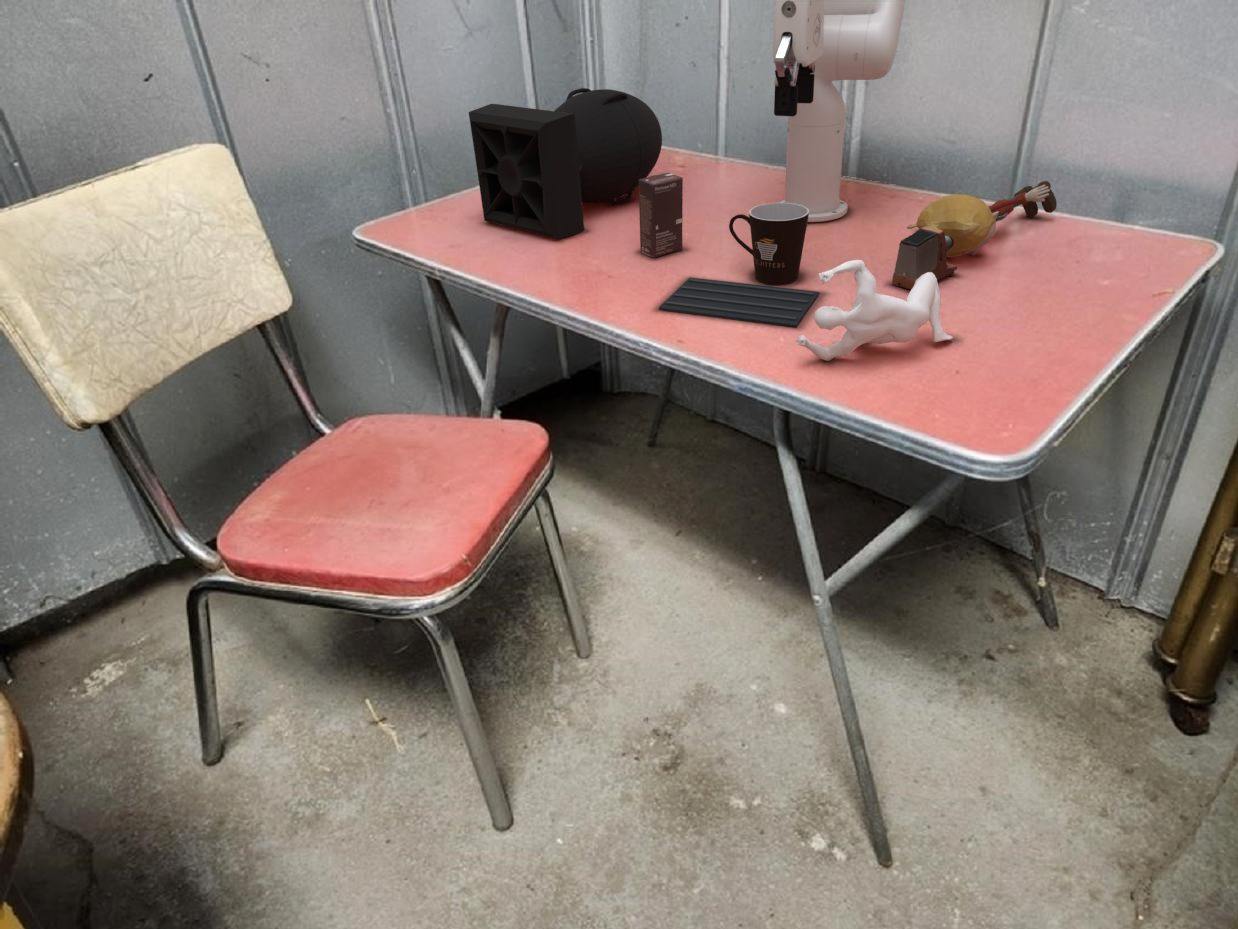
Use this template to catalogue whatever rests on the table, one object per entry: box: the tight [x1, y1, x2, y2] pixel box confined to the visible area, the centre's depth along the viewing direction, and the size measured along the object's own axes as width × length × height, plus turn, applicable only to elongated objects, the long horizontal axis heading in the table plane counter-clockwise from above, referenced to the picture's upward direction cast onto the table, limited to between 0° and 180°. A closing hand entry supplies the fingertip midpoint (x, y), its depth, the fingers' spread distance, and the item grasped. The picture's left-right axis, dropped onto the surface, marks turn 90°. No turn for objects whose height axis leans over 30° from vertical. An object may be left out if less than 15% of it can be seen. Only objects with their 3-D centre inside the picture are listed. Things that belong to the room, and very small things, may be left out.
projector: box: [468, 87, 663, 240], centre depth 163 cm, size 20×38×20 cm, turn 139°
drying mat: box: [658, 277, 820, 328], centre depth 125 cm, size 12×20×1 cm, turn 65°
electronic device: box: [891, 227, 958, 291], centre depth 125 cm, size 4×10×8 cm, turn 127°
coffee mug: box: [728, 202, 809, 286], centre depth 130 cm, size 12×9×10 cm
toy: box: [906, 180, 1058, 258], centre depth 137 cm, size 22×10×30 cm
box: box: [638, 172, 684, 258], centre depth 141 cm, size 6×4×12 cm
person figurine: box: [796, 259, 954, 362], centre depth 106 cm, size 13×13×18 cm
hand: (793, 108), depth 128 cm, fingers open, 8 cm apart
